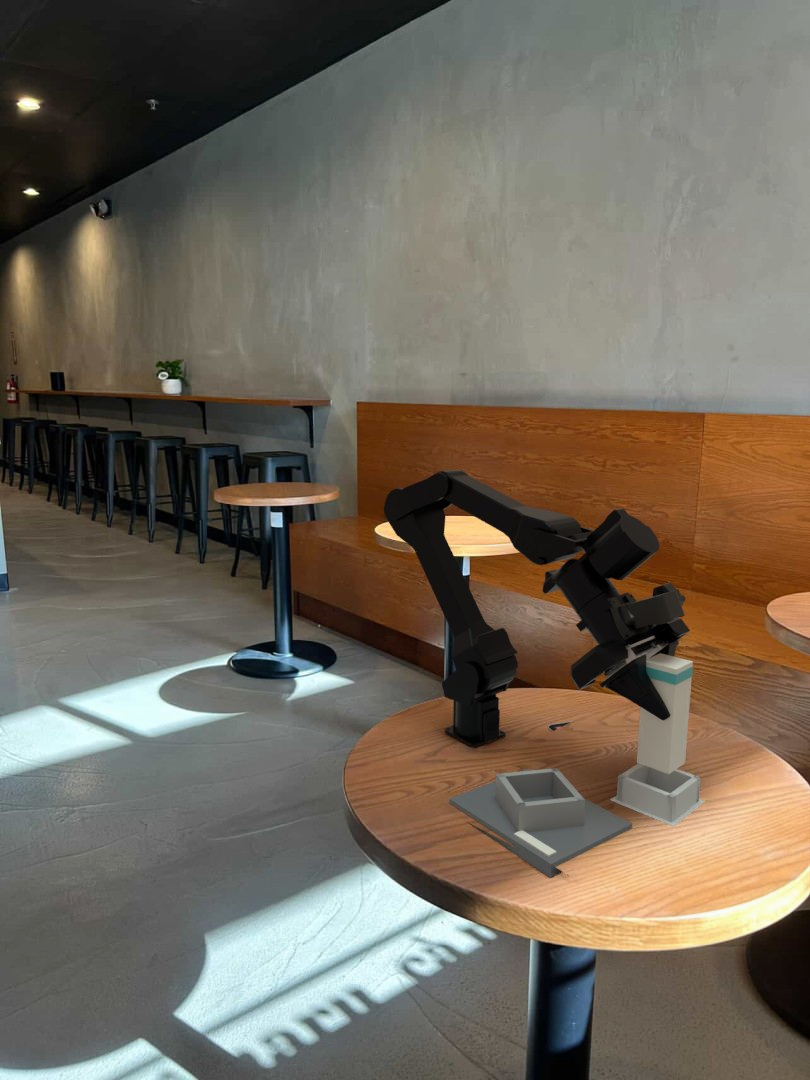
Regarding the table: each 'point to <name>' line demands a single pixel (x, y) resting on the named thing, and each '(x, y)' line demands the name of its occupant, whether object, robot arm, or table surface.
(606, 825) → the port panel
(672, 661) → the plug
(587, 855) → the table surface
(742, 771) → the table surface
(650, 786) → the holster
